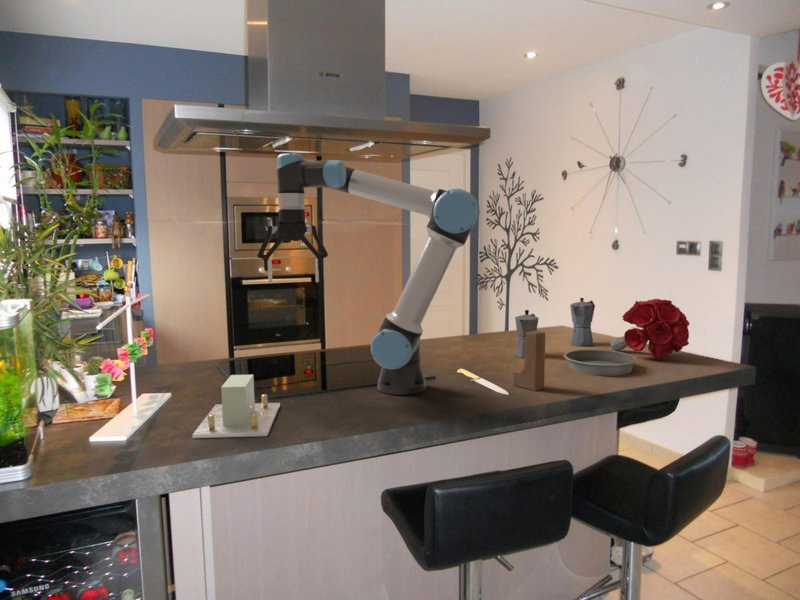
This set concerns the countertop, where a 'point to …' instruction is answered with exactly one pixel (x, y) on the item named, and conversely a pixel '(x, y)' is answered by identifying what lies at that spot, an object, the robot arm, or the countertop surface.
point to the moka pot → (582, 322)
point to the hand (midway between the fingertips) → (293, 282)
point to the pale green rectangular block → (238, 399)
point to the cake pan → (600, 362)
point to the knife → (483, 381)
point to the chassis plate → (254, 428)
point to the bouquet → (654, 328)
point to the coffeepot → (524, 331)
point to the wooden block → (532, 363)
